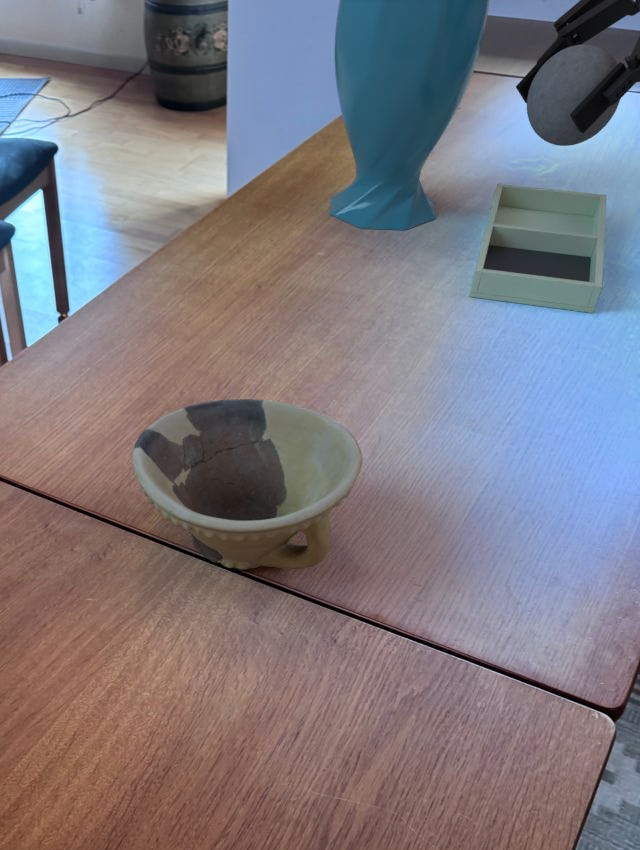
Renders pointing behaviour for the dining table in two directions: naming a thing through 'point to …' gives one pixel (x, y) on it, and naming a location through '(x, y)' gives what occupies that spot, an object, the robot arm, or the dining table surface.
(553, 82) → the decorative ball
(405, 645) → the dining table surface
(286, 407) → the bowl
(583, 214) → the organizer
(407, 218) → the vase
